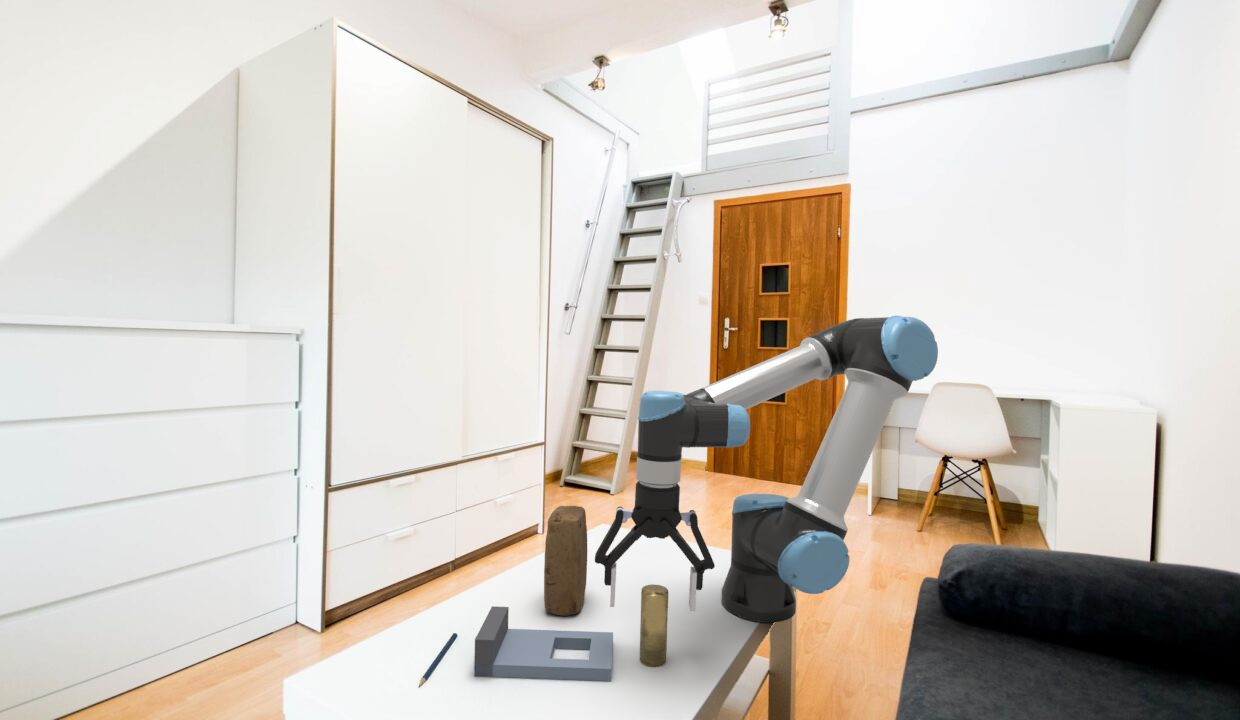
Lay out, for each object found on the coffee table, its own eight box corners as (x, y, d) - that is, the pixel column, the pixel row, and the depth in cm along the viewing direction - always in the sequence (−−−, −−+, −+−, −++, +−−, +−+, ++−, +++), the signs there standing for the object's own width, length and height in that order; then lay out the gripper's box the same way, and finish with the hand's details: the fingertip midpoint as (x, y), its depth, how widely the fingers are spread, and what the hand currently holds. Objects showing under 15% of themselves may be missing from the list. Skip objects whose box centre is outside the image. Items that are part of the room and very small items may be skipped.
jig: (612, 643, 98) (613, 610, 98) (611, 681, 87) (612, 644, 87) (491, 639, 99) (491, 606, 98) (474, 676, 88) (474, 639, 87)
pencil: (457, 637, 99) (421, 690, 84) (452, 637, 99) (415, 689, 84) (457, 633, 99) (421, 684, 84) (452, 633, 99) (415, 684, 84)
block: (577, 620, 106) (579, 518, 105) (540, 616, 107) (542, 515, 107) (589, 595, 117) (592, 502, 116) (556, 591, 118) (558, 500, 117)
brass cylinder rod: (665, 652, 96) (667, 584, 96) (667, 667, 91) (669, 597, 91) (639, 651, 96) (641, 584, 96) (639, 666, 91) (641, 596, 91)
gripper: (727, 480, 96) (721, 598, 97) (586, 473, 97) (581, 591, 97) (735, 491, 89) (729, 620, 89) (582, 484, 89) (577, 612, 90)
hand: (652, 605), depth 93 cm, fingers open, 13 cm apart
